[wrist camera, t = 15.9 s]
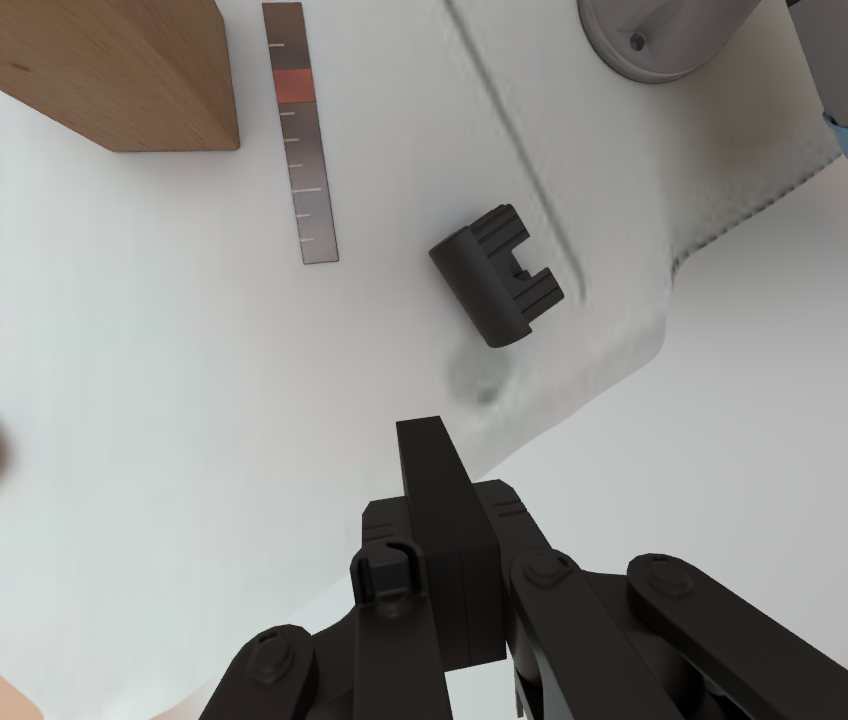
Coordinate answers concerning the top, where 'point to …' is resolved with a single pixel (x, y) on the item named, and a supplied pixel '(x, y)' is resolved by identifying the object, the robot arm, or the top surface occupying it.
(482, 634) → the robot arm
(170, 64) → the wooden block
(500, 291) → the end cap
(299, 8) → the ruler
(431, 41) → the top surface
